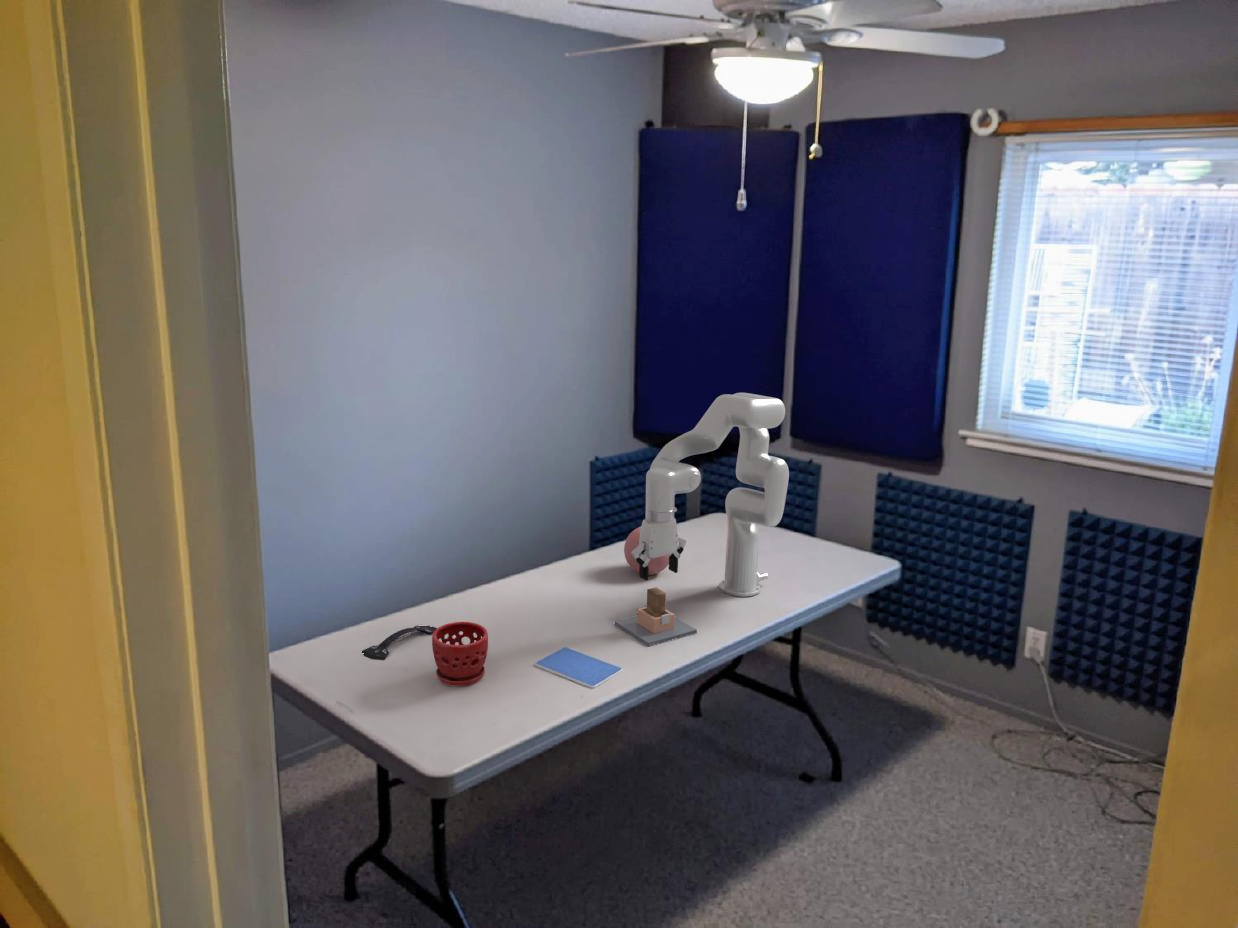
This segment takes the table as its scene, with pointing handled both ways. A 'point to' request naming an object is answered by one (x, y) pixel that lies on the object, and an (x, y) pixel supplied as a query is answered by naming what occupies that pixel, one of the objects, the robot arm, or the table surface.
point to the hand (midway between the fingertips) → (658, 574)
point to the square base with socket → (655, 627)
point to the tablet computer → (578, 667)
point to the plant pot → (460, 653)
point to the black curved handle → (382, 652)
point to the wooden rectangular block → (656, 602)
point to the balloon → (633, 542)
